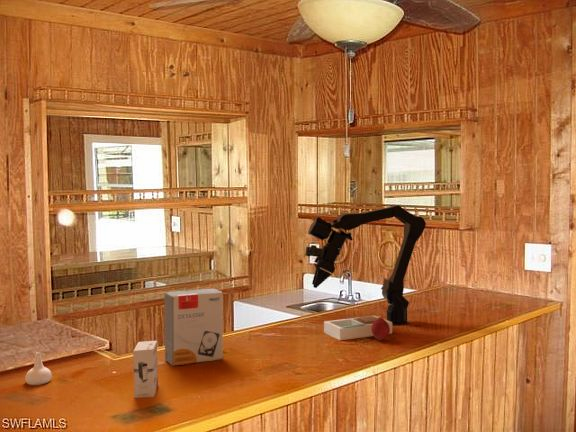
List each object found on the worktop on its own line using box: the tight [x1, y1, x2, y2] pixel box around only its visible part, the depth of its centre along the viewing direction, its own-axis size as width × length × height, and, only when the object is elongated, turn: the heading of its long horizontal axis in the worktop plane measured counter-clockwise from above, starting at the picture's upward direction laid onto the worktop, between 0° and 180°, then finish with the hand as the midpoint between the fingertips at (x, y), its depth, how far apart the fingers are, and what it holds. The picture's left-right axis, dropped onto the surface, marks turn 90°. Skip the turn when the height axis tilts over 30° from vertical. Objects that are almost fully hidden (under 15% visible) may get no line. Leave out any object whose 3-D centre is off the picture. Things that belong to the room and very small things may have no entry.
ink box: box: [132, 340, 159, 399], centre depth 151 cm, size 9×5×12 cm, turn 5°
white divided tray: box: [323, 315, 393, 341], centre depth 206 cm, size 20×11×4 cm, turn 114°
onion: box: [371, 315, 390, 342], centre depth 196 cm, size 6×6×8 cm
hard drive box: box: [163, 287, 224, 367], centre depth 177 cm, size 16×8×20 cm, turn 117°
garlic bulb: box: [24, 351, 52, 386], centre depth 159 cm, size 6×6×8 cm
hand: (313, 286), depth 215 cm, fingers open, 9 cm apart
